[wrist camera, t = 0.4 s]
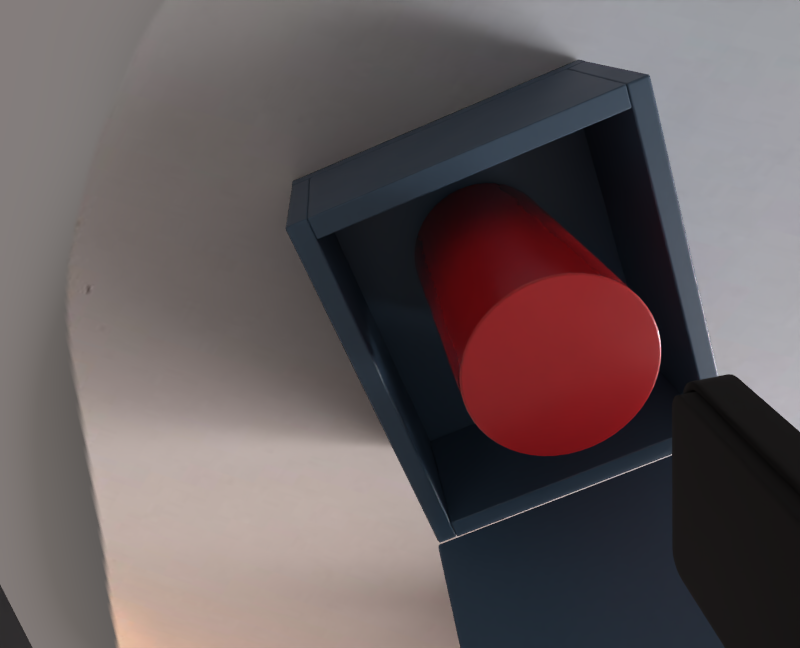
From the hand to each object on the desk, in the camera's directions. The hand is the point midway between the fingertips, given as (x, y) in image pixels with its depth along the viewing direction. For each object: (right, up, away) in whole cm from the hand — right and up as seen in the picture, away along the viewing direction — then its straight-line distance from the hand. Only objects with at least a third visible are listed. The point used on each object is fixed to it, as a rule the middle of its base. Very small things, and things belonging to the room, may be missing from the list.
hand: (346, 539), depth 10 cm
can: (+4, +6, +21) cm, 22 cm away
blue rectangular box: (+5, +5, +22) cm, 24 cm away
